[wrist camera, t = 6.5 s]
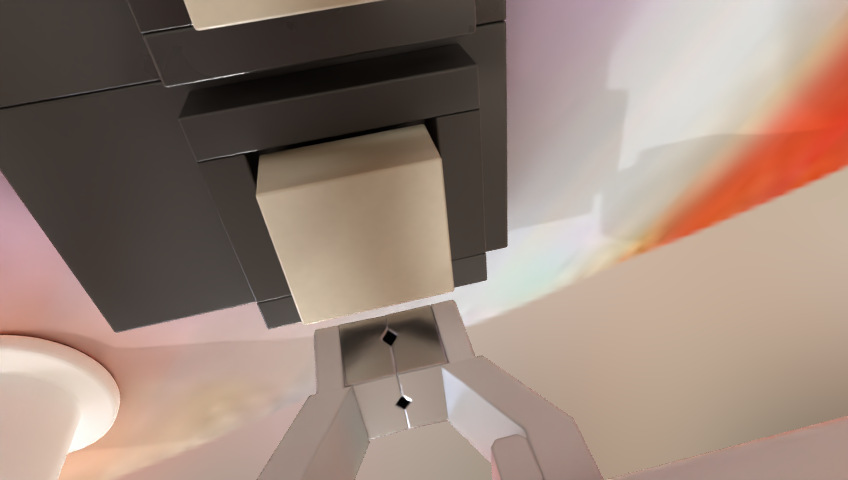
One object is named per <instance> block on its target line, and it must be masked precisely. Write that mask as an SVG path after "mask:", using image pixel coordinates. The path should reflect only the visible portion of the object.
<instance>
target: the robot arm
mask: <svg viewBox="0 0 848 480" xmlns="http://www.w3.org/2000/svg"><path fill="white" fill-rule="evenodd" d="M314 350H315V374H316V394H315V395H311V396H309V397H308V399H307V400H306V402H305V404H304V405H303V407H302V409H301V410H300V411H299V413H298V415H297V416H296V418H295V419H294V421H293V423H292V424H291V426H290V427H289V429H288V431H287V432H286V434H285V435H284V437H283V439H282V440H281V442H280V443H279V445H278V446H277V448H276V450H275V451H274V453H273V454H272V456H271V458H270V459H269V461H268V462H267V464H266V466H265V467H264V469H263V471H262V472H261V474H260V475H259V477H258V478H257V480H355V478H356V475H357V473H358V470H359V468H360V465H361V463H362V460H363V458H364V455H365V453H366V450H367V448H368V445H369V443H370V441H369V440H370V439H374V438H377V437H381V436H385V435H388V434H392V433H395V432H399V431H403V430H407V429H411V428H416V427H420V426H425V425H430V424H434V423H439V422H443V421H448V420H449V423H450V424H451V425H452V426H453V427H454V428H455V429H456V430H458V431H459V432H460V433H461V434H462V435H463V436H464V437H465V438H466V439H467V440H468V441H469V442H470V443H471V444H472V445H473V446H474V447H475V448H476V449H477V450H478V451H479V452H480V453H481V454H482V455H483V456H484V457H485V458H486V459H487V460H488V461H489V462H490V463H491V464H492V480H604V479H603V477H602V475H601V473H600V471H599V469H598V467H597V465H596V463H595V461H594V459H593V457H592V455H591V453H590V451H589V449H588V447H587V445H586V443H585V441H584V439H583V437H582V435H581V433H580V431H579V429H578V427H577V425H576V423H575V421H574V419H573V418H572V417H571V416H569V415H568V414H566V413H565V412H563V411H562V410H561V409H559V408H558V407H556V406H555V405H553V404H552V403H550V402H549V401H548V400H546V399H545V398H543V397H542V396H540V395H539V394H537V393H536V392H534V391H533V390H532V389H530V388H529V387H527V386H526V385H524V384H523V383H521V382H520V381H519V380H517V379H516V378H514V377H513V376H511V375H510V374H508V373H507V372H506V371H504V370H503V369H501V368H500V367H498V366H497V365H495V364H494V363H493V362H491V361H490V360H488V359H487V358H485V357H484V356H477V357H475V354H474V352H473V349H472V346H471V343H470V341H469V338H468V335H467V332H466V329H465V327H464V324H463V321H462V319H461V316H460V313H459V310H458V308H457V305H456V302H455V301H454V300H449V301H445V302H440V303H436V304H432V305H431V306H430V305H427V306H423V307H419V308H414V309H410V310H406V311H402V312H397V313H393V314H389V315H385V316H381V317H376V318H371V319H366V320H361V321H356V322H351V323H346V324H341V325H338V326H333V327H328V328H323V329H318V330H315V334H314ZM408 426H409V427H408ZM606 480H848V416H844V417H840V418H837V419H833V420H829V421H825V422H821V423H818V424H814V425H810V426H807V427H803V428H799V429H795V430H791V431H788V432H784V433H780V434H777V435H772V436H768V437H765V438H761V439H757V440H753V441H750V442H746V443H742V444H738V445H734V446H731V447H727V448H723V449H719V450H715V451H712V452H708V453H704V454H700V455H696V456H693V457H689V458H685V459H682V460H678V461H674V462H670V463H666V464H662V465H659V466H655V467H651V468H647V469H644V470H640V471H636V472H632V473H628V474H625V475H621V476H617V477H613V478H609V479H606Z"/></svg>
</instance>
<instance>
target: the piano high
mask: <svg viewBox="0 0 848 480" xmlns="http://www.w3.org/2000/svg"><path fill="white" fill-rule="evenodd" d="M505 19H506V0H382V1H375V2H369V3H363V4H357V5H351V6H345V7H339V8H333V9H327V10H321V11H315V12H309V13H303V14H297V15H291V16H285V17H279V18H273V19H267V20H261V21H255V22H249V23H243V24H237V25H231V26H225V27H219V28H213V29H207V30H201V31H199V30H196V29H195V28H194V27H193V24H192V22H191V19H190V16H189V14H188V11H187V8H186V5H185V3H184V0H0V108H3V107H9V106H15V105H21V104H26V103H32V102H38V101H44V100H49V99H55V98H61V97H67V96H72V95H78V94H84V93H90V92H95V91H101V90H107V89H113V88H118V87H124V86H130V85H136V84H141V83H147V82H153V81H159V80H161V82H162V84H163V85H164V86H165V87H174V86H180V85H186V84H192V83H197V82H203V81H209V80H214V79H220V78H226V77H231V76H237V75H243V74H248V73H254V72H260V71H266V70H271V69H277V68H283V67H288V66H294V65H300V64H305V63H311V62H317V61H322V60H328V59H334V58H339V57H345V56H351V55H357V54H362V53H368V52H374V51H379V50H385V49H391V48H396V47H402V46H408V45H413V44H419V43H425V42H431V41H436V40H442V39H448V38H453V37H459V36H465V35H470V34H474V33H476V25H480V24H486V23H492V22H497V21H503V20H505Z"/></svg>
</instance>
